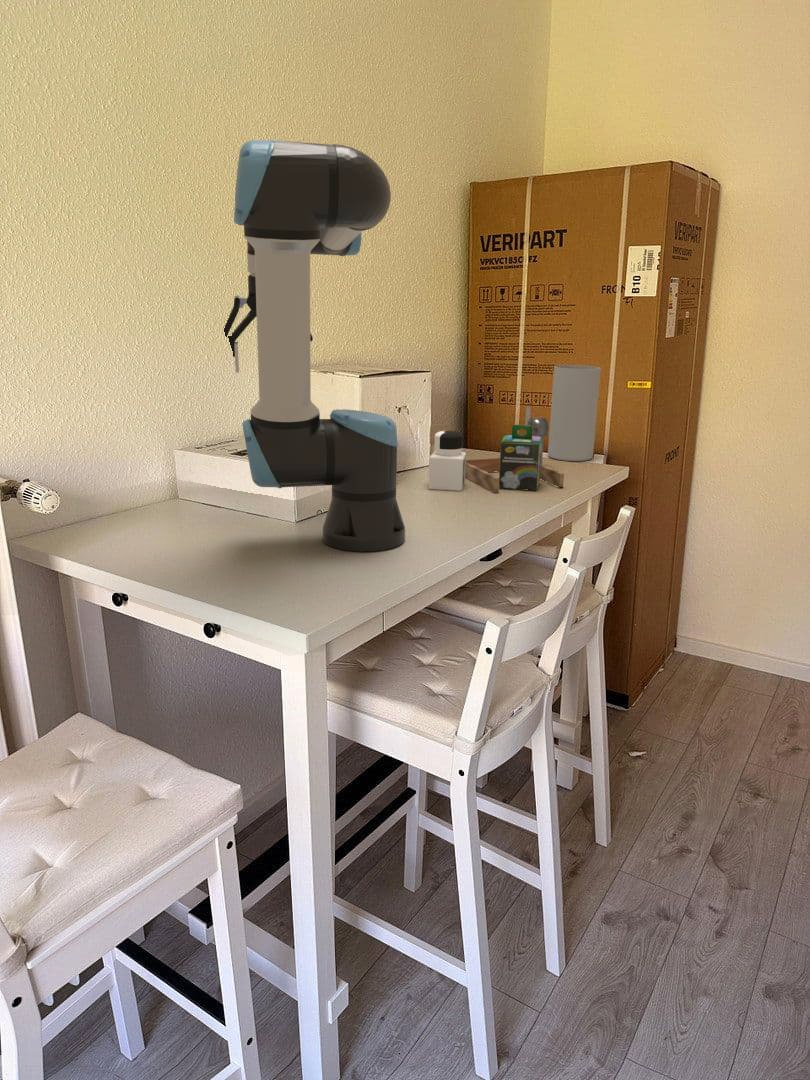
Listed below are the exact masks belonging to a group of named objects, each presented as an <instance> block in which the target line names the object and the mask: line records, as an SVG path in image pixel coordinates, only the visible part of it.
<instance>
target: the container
mask: <svg viewBox="0 0 810 1080" xmlns="http://www.w3.org/2000/svg"><path fill="white" fill-rule="evenodd" d="M463 441H464V435H463V434H462V433H461V432H460V431H456V430H441V431H438V432H435V434H434V447H433V449H434V451H433V452H432V454H431V455H430V456H429V464H428V465H429V466H428V473H429V474H428V489H429V490H437V491H438V490H439V491H453V492H454V491H455V492H461V491H462V490H463V489H464V486H465V483H466V478H465V469H466V460H467V452H465V451H463V443H464V442H463Z"/></svg>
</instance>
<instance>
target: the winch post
mask: <svg viewBox="0 0 810 1080" xmlns="http://www.w3.org/2000/svg"><path fill="white" fill-rule="evenodd" d="M531 408H532V407H531V406H526V411H525V424H524V425H531V426H532V436H542V450H541V465H543V456H544V455H543V453H544V441H545V437H547V434H548V433H549V423H548V420H547V419H546V418H545V417H531V410H532V409H531ZM526 433H527V431H526V430H525V434H526Z"/></svg>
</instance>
